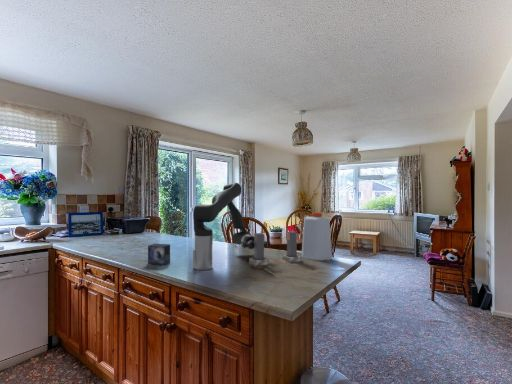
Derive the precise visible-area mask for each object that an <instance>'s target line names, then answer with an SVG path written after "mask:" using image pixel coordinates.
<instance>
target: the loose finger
mask: <svg viewBox="0 0 512 384" xmlns="http://www.w3.org/2000/svg"><path fill="white" fill-rule="evenodd" d="M253 235H254V249H253V257H254V259H255V260H264V257H265V247H264V242H265V241H266V240H265V239H266V238H265V237H266V236H265V233H262V232H255V233H254V234H253Z"/></svg>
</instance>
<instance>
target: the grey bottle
mask: <svg viewBox="0 0 512 384" xmlns="http://www.w3.org/2000/svg"><path fill="white" fill-rule="evenodd" d="M303 219H304V220H303V231H302V233H303V234H302V244H301V257H302V258H304V259H307V260H308V259H309V260H312V261H325V260H327V261H331V260H332V259H333V255H332V252H333V251H332V240H331V223H330V218H329V217H325V216H323V213H322V212H319V211H317V212H315V211H314V212H312V213H311V216H307V217H305V218H303Z"/></svg>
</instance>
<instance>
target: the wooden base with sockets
mask: <svg viewBox="0 0 512 384" xmlns="http://www.w3.org/2000/svg"><path fill="white" fill-rule="evenodd" d="M302 258H303V257H302V255H298V254H297V257H288V256H287V254H282V257H281V258H279V259H268V258H267V257H265V256H264V260H255V259H254V256H252V257H249V261H248V262H249V263H248V265H249V266H250V267H252V268H253V269H266V266H269V265H270V266H271V265H279V264H281V265H282V264H288V263H289V264H290V263H299V262H303V260H302Z"/></svg>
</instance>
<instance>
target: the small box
mask: <svg viewBox="0 0 512 384" xmlns="http://www.w3.org/2000/svg"><path fill="white" fill-rule="evenodd" d="M168 263H169V264H170V263H171V244H169V243H152V244H149V245H147V265H156V266H166V265H169V264H168Z"/></svg>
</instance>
